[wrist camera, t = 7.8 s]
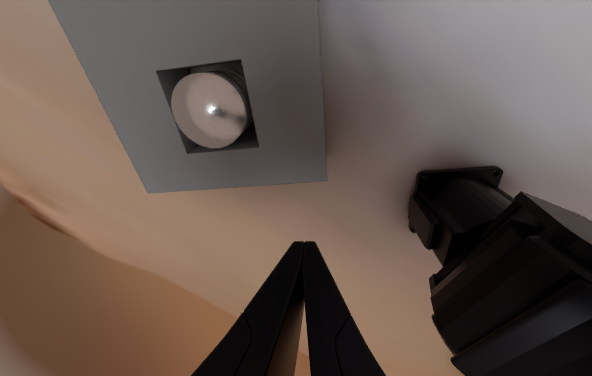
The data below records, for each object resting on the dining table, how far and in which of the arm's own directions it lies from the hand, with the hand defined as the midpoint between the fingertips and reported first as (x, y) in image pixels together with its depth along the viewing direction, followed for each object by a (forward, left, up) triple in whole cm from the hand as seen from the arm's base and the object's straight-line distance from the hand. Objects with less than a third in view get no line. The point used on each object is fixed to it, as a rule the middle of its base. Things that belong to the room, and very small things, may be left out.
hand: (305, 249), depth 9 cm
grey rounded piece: (+6, -4, -11) cm, 13 cm away
